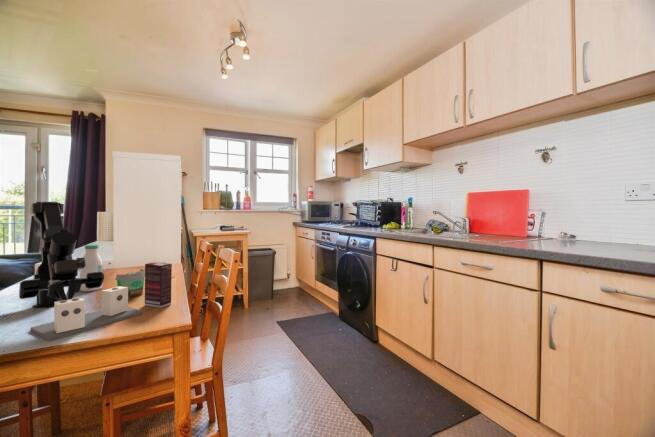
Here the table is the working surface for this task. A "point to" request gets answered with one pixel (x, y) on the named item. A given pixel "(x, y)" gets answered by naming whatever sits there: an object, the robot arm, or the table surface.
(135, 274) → the food container
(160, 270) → the supplement box
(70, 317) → the white block grey domes
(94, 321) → the key mat
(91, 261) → the milk bottle
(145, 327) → the table surface
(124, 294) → the push button box
